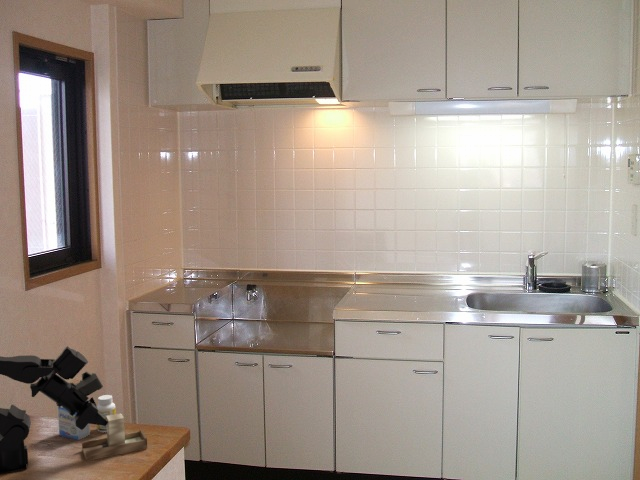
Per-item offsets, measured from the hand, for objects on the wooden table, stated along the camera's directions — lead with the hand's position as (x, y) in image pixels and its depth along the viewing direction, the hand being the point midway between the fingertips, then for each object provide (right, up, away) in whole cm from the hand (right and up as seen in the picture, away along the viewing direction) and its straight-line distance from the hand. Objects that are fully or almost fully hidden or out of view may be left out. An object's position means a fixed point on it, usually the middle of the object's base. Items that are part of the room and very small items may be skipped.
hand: (106, 423), depth 184 cm
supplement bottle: (-5, -6, +16) cm, 18 cm away
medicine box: (-13, -7, +12) cm, 19 cm away
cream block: (+2, -6, +2) cm, 7 cm away
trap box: (+2, -7, +2) cm, 8 cm away
